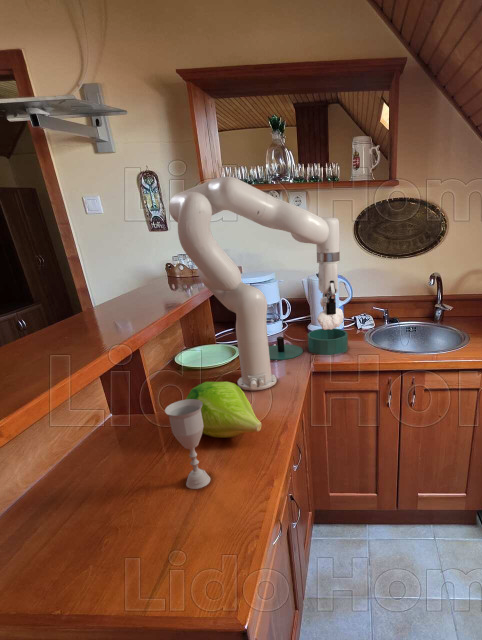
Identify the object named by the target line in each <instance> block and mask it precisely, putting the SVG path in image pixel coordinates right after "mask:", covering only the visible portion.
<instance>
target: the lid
mask: <svg viewBox="0 0 482 640" xmlns="http://www.w3.org/2000/svg"><path fill="white" fill-rule="evenodd" d="M303 353H304V350H303V348H302V347H301V346H299V345H295V344H289V343H288V344H285V338H284V337H283V336H277V337H276V344H275V345H269V356H270V361H285V360H291V359H294V358H297V357H300V356H301V355H302V354H303Z"/></svg>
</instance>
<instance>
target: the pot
mask: <svg viewBox="0 0 482 640" xmlns="http://www.w3.org/2000/svg"><path fill="white" fill-rule="evenodd" d="M306 339H307V350H308V351H309V352H310V353H312V354H315V355H320V356H331V355H339V354H343V353H344V354H345V353H347V352H348V349H349V333H348V331H346V330H344V329H341V328H337V327H336V328H333V329H327V330H323V329H322V328H318V329H317V328H316V329H313V330H311V331H309V332H308V333H307V334H306Z"/></svg>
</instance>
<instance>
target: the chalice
mask: <svg viewBox="0 0 482 640" xmlns="http://www.w3.org/2000/svg"><path fill="white" fill-rule="evenodd" d="M202 405H203V404H202V402H201V401H200V400H196V399H186V398H185V399H182V400H178V401H175V402H173V403H170V404H169V405H167V406H166V407H165V409H164V413H165V414H166V415H167V416H168V419H169V424H170V428H171V433H172V435H173V436H174V438H175V439H176V440H177V442H179V444H180V445H181V446H182V447H183V448H184V449H186V450H189V455H188V457H189V458H190V459H191V461H190V465H191V466H192V470H191V471H190V472H189V473H188V475H187V479H186V482H185V485H186V487H187V488H188V489H189V490H190V489H192V490H197V489H202V488H204V487H206V486H207V485H209V484H210V482H211V477H210V476H209V474H208V473H207V472H206V470H205V469H202V468H199V463H200V460H198V458H197V456H198V453H197V452H196V449H195V448H197V447H198V446H199V443H200V441H201V438H202V436H203V433H202V432H203V427H204V425H203V419H202V414H201V408H202Z"/></svg>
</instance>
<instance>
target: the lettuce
mask: <svg viewBox="0 0 482 640" xmlns="http://www.w3.org/2000/svg"><path fill="white" fill-rule="evenodd" d="M186 399H196V400H200V401H201V402H202V404H203V405H202V408H201V414H202V419H203V425H204V427H203V432H202V435H205V436H209V437H213V438H222V439H223V438H225V439H229V438H233V437H238V436H240V435H243V434H245V433H257V432H260V431H261V429H262V426H263V425H262V422H261V421H260V420H259V419H258V418H257V416H256V414H255V412H254V410H253V407H252V404H251V403H250V401H249V399H248V397H247V395H246V394H245V392H244V390H243V389H242V388H240V387H239V386H238V384H236V383H234V382H230V381H204V382H202V383H200V384H197V385H196V386H194V387H193V388H191V389H190V391H189V392H188V394H187V396H186V398H185V400H186Z"/></svg>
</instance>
